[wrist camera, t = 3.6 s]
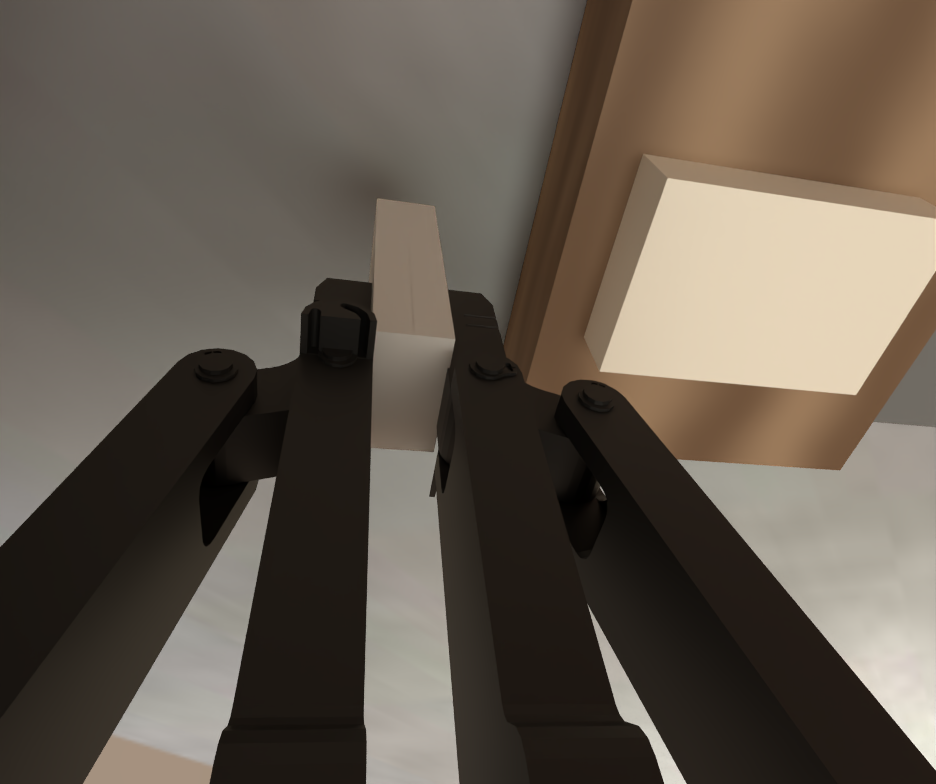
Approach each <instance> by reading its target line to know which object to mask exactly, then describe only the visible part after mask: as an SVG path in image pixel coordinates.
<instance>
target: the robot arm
mask: <svg viewBox="0 0 936 784" xmlns="http://www.w3.org/2000/svg"><path fill="white" fill-rule="evenodd" d="M437 437H438V448H439V449H438V454H437V460H436V465H435V470H434V475H433V480H432V485H431V490H430V495H429V497H435V494H436V492H437V505H438V518H439V530H440V543H441V555H442V568H443V581H444V593H445V606H446V619H447V631H448V644H449V657H450V669H451V682H452V695H453V707H454V720H455V732H456V745H457V758H458V770H459V783H460V784H664V782H663V779H662V775H661V772H660V769H659V766H658V763H657V759H656V756H655V754H654V752H653V749H652V747H651V744H650V742H649V739H648V737H647V736H646V735H645V733H644V732H643V731H642V730H641V728H640V727H639V726H637V725H634V724H631V723H628V722H625V721H624V720H623V719H622V717H621V716H620V714H619V712H618V709H617V707H616V704H615V700H614V697H613V693H612V690H611V686H610V683H609V679H608V676H607V672H606V669H605V665H604V661H603V658H602V654H601V651H600V647H599V644H598V640H597V637H596V633H595V630H594V626H593V622H592V619H591V615H590V612H589V608H588V605H589V607H590V609H591V611H592V613H593V615H594V616H595V618H596V620H597V622H598V624H599V625H600V627H601V629H602V631H603V633H604V635H605V636H606V638H607V640H608V642H609V644H610V645H611V647H612V649H613V651H614V653H615V654H616V656H617V658H618V660H619V662H620V664H621V665H622V667H623V669H624V671H625V673H626V674H627V676H628V678H629V680H630V682H631V683H632V685H633V687H634V689H635V691H636V693H637V694H638V696H639V698H640V700H641V702H642V703H643V705H644V707H645V709H646V711H647V713H648V714H649V716H650V718H651V720H652V722H653V723H654V725H655V727H656V729H657V731H658V732H659V734H660V736H661V738H662V740H663V742H664V743H665V745H666V747H667V749H668V751H669V752H670V754H671V756H672V758H673V760H674V761H675V763H676V765H677V767H678V769H679V771H680V772H681V774H682V776H683V778H684V780H685V781H686V783H687V784H936V770H935V769H934V768H933V767H932V766H931V764H930V763H929V762H928V761H927V760H926V758H925V757H924V756H923V755H922V754H921V752H920V751H919V750H918V749H917V748H916V746H915V745H914V744H913V743H912V742H911V740H910V739H909V738H908V737H907V736H906V734H905V733H904V732H903V731H902V730H901V728H900V727H899V726H898V725H897V724H896V722H895V721H894V720H893V719H892V717H891V716H890V715H889V714H888V713H887V711H886V710H885V709H884V708H883V707H882V705H881V704H880V703H879V702H878V701H877V699H876V698H875V697H874V696H873V695H872V693H871V692H870V691H869V690H868V689H867V687H866V686H865V685H864V684H863V683H862V681H861V680H860V679H859V678H858V677H857V675H856V674H855V673H854V672H853V671H852V669H851V668H850V667H849V666H848V665H847V663H846V662H845V661H844V660H843V659H842V657H841V656H840V655H839V654H838V653H837V651H836V650H835V649H834V648H833V647H832V645H831V644H830V643H829V642H828V641H827V639H826V638H825V637H824V636H823V635H822V633H821V632H820V631H819V630H818V629H817V627H816V626H815V625H814V624H813V623H812V621H811V620H810V619H809V618H808V617H807V615H806V614H805V613H804V612H803V611H802V609H801V608H800V607H799V606H798V605H797V603H796V602H795V601H794V600H793V599H792V597H791V596H790V595H789V594H788V593H787V591H786V590H785V589H784V588H783V587H782V585H781V584H780V583H779V582H778V581H777V579H776V578H775V577H774V576H773V574H772V573H771V572H770V571H769V570H768V568H767V567H766V566H765V565H764V564H763V562H762V561H761V560H760V559H759V558H758V556H757V555H756V554H755V553H754V552H753V550H752V549H751V548H750V547H749V546H748V544H747V543H746V542H745V541H744V540H743V538H742V537H741V536H740V535H739V534H738V532H737V531H736V530H735V529H734V528H733V526H732V525H731V524H730V523H729V522H728V520H727V519H726V518H725V517H724V516H723V514H722V513H721V512H720V511H719V510H718V508H717V507H716V506H715V505H714V504H713V502H712V501H711V500H710V499H709V498H708V496H707V495H706V494H705V493H704V492H703V490H702V489H701V488H700V487H699V486H698V484H697V483H696V482H695V481H694V480H693V478H692V477H691V476H690V475H689V474H688V472H687V471H686V470H685V469H684V468H683V466H682V465H681V464H680V463H679V462H678V460H677V459H676V458H675V457H674V456H673V454H672V453H671V452H670V451H669V450H668V448H667V447H666V446H665V445H664V444H663V442H662V441H661V440H660V439H659V438H658V436H657V435H656V434H655V433H654V431H653V430H652V429H651V428H650V427H649V425H648V424H647V423H646V422H645V421H644V419H643V418H642V417H641V416H640V415H639V413H638V412H637V411H636V410H635V409H634V407H633V406H632V405H631V404H630V403H629V401H628V400H627V399H626V398H625V397H624V396H623V395H622V394H621V393H619V392H618V391H617V390H616V389H614V388H612V387H610V386H608V385H606V384H604V383H601V382H598V381H593V380H575V381H571V382H569V383H567V384H566V385H565V386H563V389H562V392H561V395H558V394H555V393H551V392H548V391H544V390H541V389H538V388H536V387H533V386H531V385H529V384H527V383H525V381H524V378H523V374H522V372H521V370H520V369H519V367H518V365H517V364H515V363H514V362H513V361H511V360H510V359H509V358H506V354H505V351H504V347H503V343H502V339H501V335H500V331H499V330H498V324H497V320H496V316H495V312H494V309H493V305H492V304H491V303H490V302H489V301H488V300H487V299H486V298H485V297H484V296H483V295H482V294H481V293H472V292H463V291H454V290H448V289H447V282H446V276H445V269H444V263H443V256H442V250H441V244H440V237H439V231H438V224H437V218H436V211H435V206H431V205H423V204H416V203H408V202H401V201H394V200H386V199H379V198H377V203H376V213H375V224H374V234H373V244H372V255H371V265H370V275H369V283H368V282H359V281H350V280H341V279H332V278H327V279H326V280H325V281H323V282H322V283H321V284H320V285H319V286H318V287H316V291H315V296H314V302H313V303H312V304H310V305H308V306H306V307H305V309H304V310H303V312H302V313H301V336H300V356H299V357H298V358H297V359H295V360H294V361H292V362H290V363H288V364H285V365H282V366H278V367H272V368H265V369H257V368H256V366H255V363H254V361H253V360H252V359H250V358H249V357H248V356H247V355H245V354H242V353H240V352H237V351H234V350H228V349H219V348H217V349H206V350H200V351H197V352H194V353H191V354H188V355H187V356H185V357H184V358H182V359H181V360H179V361H178V362H177V363H176V364H175V365H174V366H173V367H172V368H171V369H170V370H169V371H168V373H167V374H166V375H165V376H164V377H163V378H162V379H161V380H160V381H159V382H158V383H157V384H156V385H155V386H154V387H153V388H152V389H151V390H150V391H149V392H148V393H147V394H146V396H145V397H144V398H143V399H142V400H141V401H140V402H139V403H138V404H137V405H136V406H135V407H134V408H133V409H132V410H131V411H130V412H129V413H128V414H127V415H126V416H125V417H124V418H123V420H122V421H121V422H120V423H119V424H118V425H117V426H116V427H115V428H114V429H113V430H112V431H111V432H110V433H109V434H108V435H107V436H106V437H105V438H104V439H103V440H102V441H101V442H100V444H99V445H98V446H97V447H96V448H95V449H94V450H93V451H92V452H91V453H90V454H89V455H88V456H87V457H86V458H85V459H84V460H83V461H82V462H81V463H80V464H79V465H78V467H77V468H76V469H75V470H74V471H73V472H72V473H71V474H70V475H69V476H68V477H67V478H66V479H65V480H64V481H63V482H62V483H61V484H60V485H59V486H58V487H57V488H56V489H55V491H54V492H53V493H52V494H51V495H50V496H49V497H48V498H47V499H46V500H45V501H44V502H43V503H42V504H41V505H40V506H39V507H38V508H37V509H36V510H35V511H34V512H33V514H32V515H31V516H30V517H29V518H28V519H27V520H26V521H25V522H24V523H23V524H22V525H21V526H20V527H19V528H18V529H17V530H16V531H15V532H14V533H13V534H12V535H11V536H10V538H9V539H8V540H7V541H6V542H5V543H4V544H3V545H2V546H1V547H0V784H83V782H84V780H85V779H86V777H87V776H88V774H89V772H90V770H91V769H92V767H93V765H94V764H95V762H96V760H97V758H98V757H99V755H100V754H101V752H102V750H103V748H104V747H105V745H106V743H107V741H108V740H109V738H110V737H111V735H112V733H113V731H114V730H115V728H116V726H117V725H118V723H119V721H120V720H121V718H122V716H123V714H124V713H125V711H126V709H127V708H128V706H129V704H130V703H131V701H132V699H133V698H134V696H135V694H136V692H137V691H138V689H139V687H140V686H141V684H142V682H143V681H144V679H145V677H146V675H147V674H148V672H149V670H150V669H151V667H152V665H153V664H154V662H155V660H156V658H157V657H158V655H159V653H160V652H161V650H162V648H163V647H164V645H165V643H166V641H167V640H168V638H169V636H170V635H171V633H172V631H173V630H174V628H175V626H176V625H177V623H178V621H179V619H180V618H181V616H182V614H183V613H184V611H185V609H186V608H187V606H188V604H189V602H190V601H191V599H192V597H193V596H194V594H195V592H196V591H197V589H198V587H199V585H200V584H201V582H202V580H203V579H204V577H205V575H206V574H207V572H208V570H209V568H210V567H211V565H212V563H213V562H214V560H215V558H216V557H217V555H218V553H219V552H220V550H221V548H222V546H223V545H224V543H225V541H226V540H227V538H228V536H229V535H230V533H231V531H232V529H233V528H234V526H235V524H236V523H237V521H238V519H239V518H240V516H241V514H242V512H243V511H244V509H245V507H246V506H247V504H248V502H249V501H250V499H251V497H252V495H253V494H254V492H255V490H256V487H257V484H258V480H259V479H265V478H270V477H276V482H275V487H274V492H273V497H272V503H271V508H270V513H269V518H268V524H267V529H266V534H265V540H264V545H263V550H262V555H261V561H260V566H259V571H258V576H257V582H256V587H255V592H254V597H253V603H252V608H251V613H250V618H249V624H248V629H247V634H246V639H245V645H244V650H243V655H242V660H241V666H240V671H239V676H238V681H237V687H236V692H235V697H234V702H233V708H232V712H231V717H230V720H229V723H228V726H227V727H226V728H225V729H224V730H223V731H222V734H221V737H220V740H219V743H218V747H217V751H216V755H215V760H214V764H213V769H212V774H211V779H210V784H366V744H367V741H366V728H365V725H364V678H365V641H366V604H367V567H368V530H369V493H370V456H371V448H383V449H397V450H412V451H427V452H434V448H435V443H436V438H437ZM600 486H601V487H602V489H603V491H604V493H605V495H606V496H605V495H604V494H603V492H602V491H601V489H600ZM587 604H588V605H587Z"/></svg>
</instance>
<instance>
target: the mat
mask: <svg viewBox="0 0 936 784" xmlns="http://www.w3.org/2000/svg"><path fill="white" fill-rule="evenodd" d="M873 422H881V423H893V424H905V425H917V426H929V427H936V330H935V332H934V333H933V335H932V336H931V337H930V339H929V340H928V342H927V343H926V345H925V346H924V348H923V349H922V351H921V352H920V354H919V355H918V357H917V358H916V360H915V361H914V362H913V364H912V365H911V367H910V368H909V370H908V371H907V373H906V374H905V376H904V377H903V379H902V380H901V382H900V383H899V384H898V386H897V387H896V389H895V390H894V392H893V393H892V395H891V396H890V398H889V399H888V401H887V402H886V404H885V405H884V406H883V408H882V409H881V411H880V412H879V414H878V415H877V417H876V418H875V420H874V421H873Z"/></svg>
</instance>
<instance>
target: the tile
mask: <svg viewBox="0 0 936 784" xmlns="http://www.w3.org/2000/svg"><path fill="white" fill-rule="evenodd" d="M935 271H936V206H934V205H932V204H930V203H929V202H927V201H925V200H923V199H921V198H919V197H913V196H906V195H900V194H894V193H887V192H881V191H875V190H868V189H862V188H856V187H849V186H843V185H837V184H830V183H824V182H818V181H811V180H805V179H799V178H792V177H786V176H780V175H773V174H767V173H761V172H754V171H748V170H742V169H735V168H729V167H723V166H716V165H710V164H704V163H698V162H691V161H685V160H679V159H672V158H666V157H660V156H653V155H647V154H643V156H642V159H641V162H640V165H639V168H638V171H637V174H636V177H635V180H634V184H633V187H632V190H631V193H630V196H629V199H628V202H627V205H626V208H625V211H624V214H623V218H622V221H621V224H620V227H619V230H618V233H617V236H616V239H615V242H614V245H613V248H612V252H611V255H610V258H609V261H608V264H607V267H606V270H605V273H604V276H603V279H602V282H601V285H600V289H599V292H598V295H597V298H596V301H595V304H594V307H593V310H592V313H591V316H590V319H589V323H588V326H587V329H586V332H585V335H584V339H585V341H586V343H587V345H588V347H589V350H590V352H591V354H592V356H593V358H594V360H595V363H596V365H597V367H598V369H599V371H600V372H610V373H621V374H632V375H643V376H654V377H665V378H675V379H686V380H697V381H708V382H719V383H730V384H741V385H752V386H762V387H773V388H784V389H795V390H806V391H817V392H828V393H839V394H849V395H856V394H857V393H858V391H859V390H860V388H861V387H862V385H863V383H864V382H865V380H866V379H867V377H868V376H869V374H870V373H871V371H872V369H873V368H874V366H875V365H876V363H877V362H878V360H879V359H880V357H881V355H882V354H883V352H884V351H885V349H886V348H887V346H888V344H889V343H890V341H891V340H892V338H893V337H894V335H895V334H896V332H897V330H898V329H899V327H900V326H901V324H902V323H903V321H904V320H905V318H906V316H907V315H908V313H909V312H910V310H911V309H912V307H913V306H914V304H915V302H916V301H917V299H918V298H919V296H920V295H921V293H922V292H923V290H924V288H925V287H926V285H927V284H928V282H929V281H930V279H931V278H932V276H933V274H934V273H935Z"/></svg>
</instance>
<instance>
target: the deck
mask: <svg viewBox="0 0 936 784" xmlns="http://www.w3.org/2000/svg"><path fill="white" fill-rule="evenodd" d="M643 154H647V155H653V156H660V157H666V158H672V159H679V160H685V161H691V162H698V163H704V164H710V165H716V166H723V167H729V168H735V169H742V170H748V171H754V172H761V173H767V174H773V175H780V176H786V177H792V178H799V179H805V180H811V181H818V182H824V183H830V184H837V185H843V186H849V187H856V188H862V189H868V190H875V191H881V192H887V193H894V194H900V195H906V196H913V197H919V198H921V199H923V200H925V201H927V202H929V203H930V204H932V205H934V206H936V0H587V4H586V8H585V12H584V17H583V21H582V25H581V29H580V33H579V37H578V41H577V45H576V49H575V54H574V58H573V62H572V66H571V70H570V74H569V78H568V82H567V87H566V91H565V95H564V99H563V103H562V107H561V111H560V115H559V119H558V124H557V128H556V132H555V136H554V140H553V144H552V148H551V152H550V156H549V161H548V165H547V169H546V173H545V177H544V181H543V185H542V189H541V193H540V198H539V202H538V206H537V210H536V214H535V218H534V222H533V226H532V230H531V235H530V239H529V243H528V247H527V251H526V255H525V259H524V263H523V267H522V272H521V276H520V280H519V284H518V288H517V292H516V296H515V300H514V304H513V309H512V313H511V317H510V321H509V325H508V329H507V333H506V337H505V341H504V346H503V347H504V351H505V354H506V358H509V359H510V360H511V361H513V362H514V363H515V364H517V365H518V367H519V369H520V370H521V372H522V374H523V378H524V381H525V383H527V384H529V385H531V386H533V387H536V388H538V389H541V390H544V391H548V392H551V393H555V394H558V395H561V392H562V389H563V386H565V385H566V384H567V383H569V382H571V381H575V380H593V381H598V382H601V383H604V384H606V385H608V386H610V387H612V388H614V389H616V390H617V391H618V392H619V393H621V394H622V395H623V396H624V397H625V398H626V399H627V400H628V401H629V403H630V404H631V405H632V406H633V407H634V409H635V410H636V411H637V412H638V413H639V415H640V416H641V417H642V418H643V419H644V421H645V422H646V423H647V424H648V425H649V427H650V428H651V429H652V430H653V431H654V433H655V434H656V435H657V436H658V438H659V439H660V440H661V441H662V442H663V444H664V445H665V446H666V447H667V448H668V450H669V451H670V452H671V453H672V454H673V456H674V457H675V458H676V459H681V460H696V461H711V462H726V463H741V464H755V465H770V466H785V467H800V468H814V469H829V470H841V468H842V467H843V465H844V464H845V462H846V461H847V459H848V458H849V456H850V455H851V453H852V452H853V451H854V449H855V448H856V446H857V445H858V443H859V442H860V440H861V439H862V437H863V436H864V434H865V433H866V431H867V430H868V429H869V427H870V426H871V424H872V423H873V421H874V420H875V418H876V417H877V415H878V414H879V412H880V411H881V409H882V408H883V406H884V405H885V404H886V402H887V401H888V399H889V398H890V396H891V395H892V393H893V392H894V390H895V389H896V387H897V386H898V384H899V383H900V382H901V380H902V379H903V377H904V376H905V374H906V373H907V371H908V370H909V368H910V367H911V365H912V364H913V362H914V361H915V360H916V358H917V357H918V355H919V354H920V352H921V351H922V349H923V348H924V346H925V345H926V343H927V342H928V340H929V339H930V337H931V336H932V335H933V333H934V332H935V330H936V271H935V273H934V274H933V276H932V278H931V279H930V281H929V282H928V284H927V285H926V287H925V288H924V290H923V292H922V293H921V295H920V296H919V298H918V299H917V301H916V302H915V304H914V306H913V307H912V309H911V310H910V312H909V313H908V315H907V316H906V318H905V320H904V321H903V323H902V324H901V326H900V327H899V329H898V330H897V332H896V334H895V335H894V337H893V338H892V340H891V341H890V343H889V344H888V346H887V348H886V349H885V351H884V352H883V354H882V355H881V357H880V359H879V360H878V362H877V363H876V365H875V366H874V368H873V369H872V371H871V373H870V374H869V376H868V377H867V379H866V380H865V382H864V383H863V385H862V387H861V388H860V390H859V391H858V393H857V394H856V395H849V394H839V393H828V392H817V391H806V390H795V389H784V388H773V387H762V386H752V385H741V384H730V383H719V382H708V381H697V380H686V379H675V378H665V377H654V376H643V375H632V374H621V373H610V372H600V371H599V369H598V367H597V365H596V363H595V360H594V358H593V356H592V354H591V352H590V350H589V347H588V345H587V343H586V341H585V339H584V335H585V332H586V329H587V326H588V323H589V319H590V316H591V313H592V310H593V307H594V304H595V301H596V298H597V295H598V292H599V289H600V285H601V282H602V279H603V276H604V273H605V270H606V267H607V264H608V261H609V258H610V255H611V252H612V248H613V245H614V242H615V239H616V236H617V233H618V230H619V227H620V224H621V221H622V218H623V214H624V211H625V208H626V205H627V202H628V199H629V196H630V193H631V190H632V187H633V184H634V180H635V177H636V174H637V171H638V168H639V165H640V162H641V159H642V156H643Z"/></svg>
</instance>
